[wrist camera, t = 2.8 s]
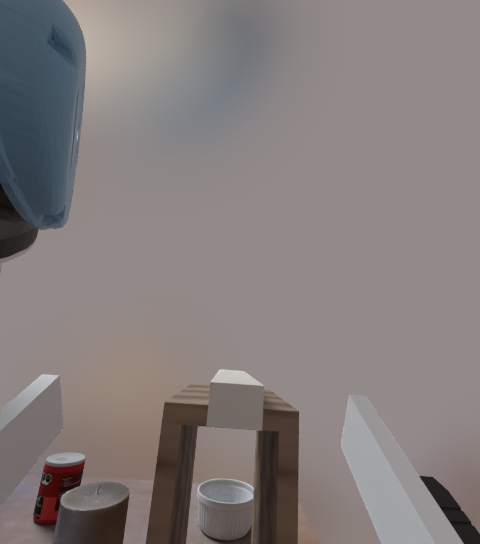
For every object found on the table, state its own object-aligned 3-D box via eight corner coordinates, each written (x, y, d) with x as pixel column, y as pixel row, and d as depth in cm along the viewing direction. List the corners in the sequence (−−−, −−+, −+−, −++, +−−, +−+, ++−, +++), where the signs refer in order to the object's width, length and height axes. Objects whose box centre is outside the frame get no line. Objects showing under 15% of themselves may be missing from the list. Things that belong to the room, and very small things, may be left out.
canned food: (40, 507, 65) (53, 452, 69) (79, 506, 67) (89, 452, 70) (24, 526, 58) (39, 463, 61) (68, 524, 60) (80, 463, 63)
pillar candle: (120, 581, 46) (135, 471, 50) (106, 637, 37) (126, 497, 41) (52, 586, 44) (74, 472, 49) (20, 646, 35) (51, 499, 40)
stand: (294, 849, 22) (298, 411, 30) (106, 841, 22) (164, 402, 30) (261, 608, 43) (269, 390, 52) (165, 603, 43) (190, 384, 51)
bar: (262, 430, 21) (264, 385, 22) (206, 426, 21) (210, 382, 22) (242, 390, 48) (243, 371, 48) (218, 388, 48) (219, 369, 48)
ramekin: (232, 507, 72) (234, 474, 74) (267, 534, 62) (269, 495, 64) (183, 520, 65) (187, 483, 67) (214, 553, 55) (218, 509, 57)
